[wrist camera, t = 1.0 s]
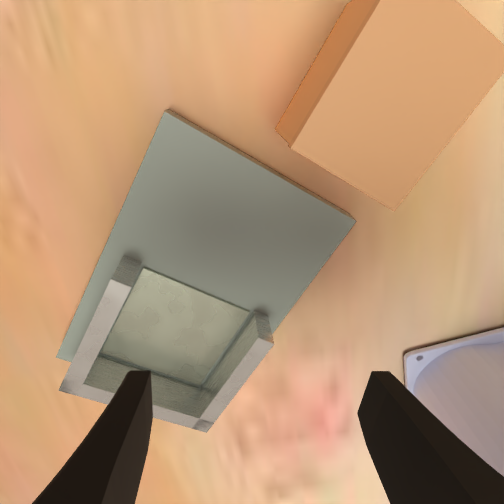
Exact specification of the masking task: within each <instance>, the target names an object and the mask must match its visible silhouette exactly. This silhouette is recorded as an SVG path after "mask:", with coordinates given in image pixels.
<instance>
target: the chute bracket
mask: <svg viewBox="0 0 504 504" xmlns="http://www.w3.org/2000/svg"><path fill="white" fill-rule="evenodd" d="M141 263H142V262H141V261H138V260H136V259H134V258H131V257H129V256H127V255H123V257H122V259H121V260H120V262H119V264H118V266H117V268H116V270H115V272H114V274H113V276H112V278H111V280H110V282H109V284H108V286H107V288H106V290H105V292H104V295H103V297H102V299H101V301H100V303H99V305H98V307H97V309H96V312H95V314H94V316H93V318H92V320H91V322H90V324H89V327H88V329H87V331H86V333H85V335H84V337H83V339H82V341H81V344H80V346H79V348H78V350H77V352H76V354H75V356H74V359H73V361H72V363H71V365H70V367H69V369H68V371H67V373H66V376H65V378H64V380H63V382H62V384H61V386H60V388H59V391H62V392H66V393H69V394H73V395H76V396H80V397H83V398H87V399H90V400H94V401H97V402H101V403H104V404H109V402H110V401H111V399H112V398H113V396H114V395H115V393H116V391H117V390H118V388H119V386H120V385H121V383H122V381H123V379H124V378H125V376H126V374H127V373H128V372H129V371H130V370H151V384H152V405H153V417H154V418H157V419H161V420H164V421H168V422H171V423H175V424H178V425H182V426H185V427H189V428H192V429H196V430H199V431H203V432H206V433H207V432H208V430H209V429H210V428H211V426H212V425H213V424H214V422H215V421H216V420H217V418H218V417H219V416H220V414H221V413H222V412H223V411H224V409H225V408H226V407H227V405H228V404H229V403H230V401H231V400H232V399H233V397H234V396H235V395H236V393H237V392H238V391H239V390H240V388H241V387H242V386H243V384H244V383H245V382H246V380H247V379H248V378H249V376H250V375H251V374H252V372H253V371H254V370H255V369H256V367H257V366H258V365H259V363H260V362H261V361H262V359H263V358H264V357H265V355H266V354H267V353H268V351H269V350H270V349H271V347H272V346H273V345H274V341H273V337H272V332H271V327H270V322H269V317H268V315H266V314H264V313H261V312H259V311H256V310H253V311H252V313H251V314H250V316H249V317H248V319H247V320H246V322H245V323H244V324H243V326H242V327H241V329H240V330H239V332H238V333H237V334H236V336H235V337H234V339H233V340H232V342H231V343H230V345H229V346H228V347H227V349H226V350H225V352H224V353H223V355H222V356H221V358H220V359H219V360H218V362H217V363H216V365H215V366H214V368H213V369H212V370H211V372H210V373H209V375H208V376H207V378H206V379H205V381H204V382H203V383H202V385H200V384H201V382H202V381H203V379H204V378H205V376H206V375H207V374H208V372H209V371H210V369H211V368H212V366H213V365H214V363H215V362H216V361H217V359H218V358H219V356H220V355H221V353H222V352H223V350H224V349H225V348H226V346H227V345H228V343H229V342H230V340H231V339H232V337H233V336H234V335H235V333H236V332H237V330H238V329H239V327H240V326H241V324H242V323H243V322H244V320H245V319H246V317H247V316H248V314H249V313H250V312H249V310H247V309H244V308H242V307H239V306H237V305H235V304H232V303H230V302H228V301H225V300H223V299H220V298H218V297H216V296H213V295H211V294H209V293H206V292H204V291H201V290H199V289H197V288H194V287H192V286H190V285H187V284H185V283H182V282H180V281H178V280H175V279H173V278H170V277H168V276H166V275H163V274H161V273H159V272H156V271H154V270H151V269H149V268H147V267H143V269H142V271H141V273H140V275H139V277H138V279H137V281H136V283H135V285H134V287H133V289H132V291H131V293H130V295H129V297H128V299H127V301H126V303H125V305H124V307H123V309H122V311H121V313H120V315H119V317H118V319H117V321H116V323H115V325H114V327H113V329H112V331H111V332H110V334H109V336H108V338H107V340H106V342H105V344H104V346H103V348H102V350H101V352H99V351H100V349H101V347H102V345H103V343H104V341H105V339H106V337H107V335H108V333H109V331H110V329H111V327H112V325H113V323H114V321H115V319H116V317H117V315H118V313H119V311H120V309H121V307H122V305H123V303H124V302H125V300H126V298H127V296H128V294H129V292H130V290H131V288H132V285H133V283H134V280H135V278H136V275H137V273H138V270H139V268H140V265H141Z"/></svg>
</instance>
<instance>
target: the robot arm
mask: <svg viewBox="0 0 504 504" xmlns="http://www.w3.org/2000/svg"><path fill="white" fill-rule="evenodd" d="M404 372H405V386H404V385H403V384H402V383H401V382H400V381H399V380H398V379H397V378H396V377H395V376H394V375H392V374H391V373H390V372H389V371H372V372H371V375H370V378H369V381H368V384H367V387H366V390H365V392H364V395H363V398H362V401H361V404H360V407H359V410H358V417H359V421H360V425H361V428H362V432H363V435H364V439H365V442H366V445H367V448H368V450H369V453H370V455H371V458H372V460H373V463H374V465H375V468H376V470H377V473H378V475H379V477H380V480H381V482H382V485H383V487H384V489H385V492H386V494H387V497H388V499H389V502H390V504H504V327H503V328H499V329H495V330H491V331H487V332H483V333H479V334H476V335H472V336H468V337H464V338H460V339H456V340H452V341H448V342H444V343H441V344H437V345H433V346H429V347H425V348H421V349H417V350H413V351H410V352H407V353H406V354H405V355H404ZM152 419H153V405H152V384H151V370H130V371H129V372H128V373H127V374H126V376H125V378H124V379H123V381H122V383H121V385H120V386H119V388H118V390H117V391H116V393H115V395H114V396H113V398H112V399H111V401H110V402H109V404H108V405H107V407H106V409H105V410H104V412H103V413H102V414H101V416H100V417H99V419H98V420H97V422H96V423H95V425H94V426H93V427H92V429H91V430H90V432H89V433H88V435H87V436H86V437H85V439H84V440H83V441H82V443H81V444H80V445H79V447H78V448H77V449H76V450H75V452H74V453H73V454H72V456H71V457H70V458H69V460H68V461H67V462H66V463H65V465H64V466H63V467H62V469H61V470H60V471H59V472H58V474H57V475H56V476H55V477H54V478H53V480H52V481H51V482H50V483H49V484H48V486H47V487H46V488H45V489H44V490H43V491H42V493H41V494H40V495H39V496H38V497H37V498H36V500H35V501H34V502H33V503H32V504H135V500H136V496H137V492H138V488H139V484H140V480H141V476H142V472H143V468H144V464H145V460H146V456H147V451H148V446H149V439H150V432H151V426H152Z"/></svg>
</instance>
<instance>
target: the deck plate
mask: <svg viewBox="0 0 504 504" xmlns="http://www.w3.org/2000/svg"><path fill="white" fill-rule="evenodd" d="M355 223H356V220H355V219H354V218H353V217H352V216H351V215H350V214H349V213H347V212H346V211H344V210H342V209H341V208H339V207H337V206H335V205H334V204H332V203H330V202H328V201H327V200H325V199H323V198H321V197H320V196H318V195H316V194H315V193H313V192H311V191H309V190H308V189H306V188H304V187H302V186H301V185H299V184H297V183H295V182H294V181H292V180H290V179H289V178H287V177H285V176H283V175H282V174H280V173H278V172H276V171H275V170H273V169H271V168H269V167H268V166H266V165H264V164H263V163H261V162H259V161H257V160H256V159H254V158H252V157H250V156H249V155H247V154H245V153H243V152H242V151H240V150H238V149H237V148H235V147H233V146H231V145H230V144H228V143H226V142H224V141H223V140H221V139H219V138H217V137H216V136H214V135H212V134H211V133H209V132H207V131H205V130H204V129H202V128H200V127H198V126H197V125H195V124H193V123H191V122H190V121H188V120H186V119H185V118H183V117H181V116H179V115H178V114H176V113H174V112H172V111H171V110H169V109H167V110H166V111H165V112H164V114H163V116H162V118H161V121H160V123H159V125H158V127H157V130H156V132H155V134H154V136H153V139H152V141H151V143H150V146H149V148H148V150H147V152H146V155H145V157H144V159H143V161H142V164H141V166H140V168H139V170H138V173H137V175H136V177H135V180H134V182H133V184H132V186H131V189H130V191H129V193H128V195H127V198H126V200H125V202H124V204H123V207H122V209H121V211H120V213H119V216H118V218H117V220H116V223H115V225H114V227H113V229H112V232H111V234H110V236H109V238H108V241H107V243H106V245H105V247H104V250H103V252H102V254H101V257H100V259H99V261H98V263H97V266H96V268H95V270H94V272H93V275H92V277H91V279H90V281H89V284H88V286H87V288H86V290H85V293H84V295H83V297H82V300H81V302H80V304H79V306H78V309H77V311H76V313H75V315H74V318H73V320H72V322H71V324H70V327H69V329H68V331H67V334H66V336H65V338H64V340H63V343H62V345H61V347H60V349H59V352H58V354H57V356H56V358H59V359H63V360H66V361H69V362H72V361H73V359H74V356H75V354H76V352H77V350H78V348H79V346H80V344H81V341H82V339H83V337H84V335H85V333H86V331H87V329H88V327H89V324H90V322H91V320H92V318H93V316H94V314H95V312H96V309H97V307H98V305H99V303H100V301H101V299H102V297H103V295H104V292H105V290H106V288H107V286H108V284H109V282H110V280H111V278H112V276H113V274H114V272H115V270H116V268H117V266H118V264H119V262H120V260H121V259H122V257H123V255H127V256H129V257H131V258H134V259H136V260H138V261H141V262H142V263H141V265H140V268H139V270H138V273H137V275H136V278H135V280H134V283H133V285H132V288H131V290H130V292H129V294H128V296H127V298H126V300H125V302H124V303H123V305H122V307H121V309H120V311H119V313H118V315H117V317H116V319H115V321H114V323H113V325H112V327H111V329H110V331H109V333H108V335H107V337H106V339H105V341H104V343H103V345H102V347H101V349H100V351H99V352H101V350H102V348H103V346H104V344H105V342H106V340H107V338H108V336H109V334H110V332H111V331H112V329H113V327H114V325H115V323H116V321H117V319H118V317H119V315H120V313H121V311H122V309H123V307H124V305H125V303H126V301H127V299H128V297H129V295H130V293H131V291H132V289H133V287H134V285H135V283H136V281H137V279H138V277H139V275H140V273H141V271H142V269H143V267H147V268H149V269H151V270H154V271H156V272H159V273H161V274H163V275H166V276H168V277H170V278H173V279H175V280H178V281H180V282H182V283H185V284H187V285H190V286H192V287H194V288H197V289H199V290H201V291H204V292H206V293H209V294H211V295H213V296H216V297H218V298H220V299H223V300H225V301H228V302H230V303H232V304H235V305H237V306H239V307H242V308H244V309H247V310H249V312H250V313H249V314H248V316H247V317H246V319H245V320H244V322H243V323H242V324H241V326H240V327H239V329H238V330H237V332H236V333H235V335H234V336H233V337H232V339H231V340H230V342H229V343H228V345H227V346H226V348H225V349H224V350H223V352H222V353H221V355H220V356H219V358H218V359H217V361H216V362H215V363H214V365H213V366H212V368H211V369H210V371H209V372H208V374H207V375H206V376H205V378H204V379H203V381H202V382H201V384H200V385H202V383H203V382H204V381H205V379H206V378H207V376H208V375H209V373H210V372H211V370H212V369H213V368H214V366H215V365H216V363H217V362H218V360H219V359H220V358H221V356H222V355H223V353H224V352H225V350H226V349H227V347H228V346H229V345H230V343H231V342H232V340H233V339H234V337H235V336H236V334H237V333H238V332H239V330H240V329H241V327H242V326H243V324H244V323H245V322H246V320H247V319H248V317H249V316H250V314H251V313H252V311H253V310H256V311H259V312H261V313H264V314H266V315H268V317H269V322H270V327H271V332H272V334H273V332H274V331H275V330H276V328H277V327H278V326H279V324H280V323H281V322H282V320H283V319H284V318H285V316H286V315H287V314H288V312H289V311H290V310H291V308H292V307H293V306H294V304H295V303H296V302H297V300H298V299H299V298H300V296H301V295H302V294H303V292H304V291H305V290H306V288H307V287H308V286H309V284H310V283H311V282H312V280H313V279H314V278H315V276H316V275H317V273H318V272H319V271H320V269H321V268H322V267H323V265H324V264H325V263H326V261H327V260H328V259H329V257H330V256H331V255H332V253H333V252H334V251H335V249H336V248H337V247H338V245H339V244H340V243H341V241H342V240H343V239H344V237H345V236H346V235H347V233H348V232H349V231H350V229H351V228H352V227H353V225H354V224H355Z"/></svg>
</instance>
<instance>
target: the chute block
mask: <svg viewBox="0 0 504 504" xmlns="http://www.w3.org/2000/svg"><path fill="white" fill-rule="evenodd" d="M503 72H504V44H502V43H501V42H500V41H499V40H498V39H497V38H496V37H495V36H494V35H493V34H492V33H491V32H490V31H488V30H487V29H486V28H485V27H484V26H483V25H482V24H481V23H480V22H479V21H478V20H477V19H476V18H474V17H473V16H472V15H471V14H470V13H469V12H468V11H467V10H466V9H465V8H464V7H463V6H462V5H461V4H459V3H458V2H457V1H456V0H353V1H351V2H349V3H347V5H346V7H345V8H344V10H343V12H342V14H341V15H340V17H339V19H338V21H337V22H336V24H335V26H334V28H333V29H332V31H331V33H330V35H329V36H328V38H327V40H326V41H325V43H324V45H323V47H322V48H321V50H320V52H319V54H318V55H317V57H316V59H315V61H314V62H313V64H312V66H311V68H310V69H309V71H308V73H307V74H306V76H305V78H304V80H303V81H302V83H301V85H300V87H299V88H298V90H297V92H296V94H295V95H294V97H293V99H292V101H291V102H290V104H289V106H288V107H287V109H286V111H285V113H284V114H283V116H282V118H281V120H280V121H279V123H278V125H277V127H276V128H275V130H276V131H277V132H278V133H279V134H280V135H281V136H282V137H283V138H284V139H285V140H286V141H287V142H288V143H289V145H288V146H289V147H290V148H291V149H292V150H294V151H296V152H297V153H299V154H301V155H302V156H304V157H305V158H307V159H309V160H310V161H312V162H314V163H315V164H317V165H319V166H320V167H322V168H324V169H325V170H327V171H328V172H330V173H332V174H333V175H335V176H337V177H338V178H340V179H342V180H343V181H345V182H346V183H348V184H350V185H351V186H353V187H355V188H356V189H358V190H360V191H361V192H363V193H365V194H366V195H368V196H369V197H371V198H373V199H374V200H376V201H378V202H379V203H381V204H383V205H384V206H386V207H387V208H389V209H391V210H392V211H395V210H396V209H397V207H398V206H399V205H400V204H401V202H402V201H403V200H404V199H405V197H406V196H407V195H408V193H409V192H410V191H411V190H412V188H413V187H414V186H415V185H416V183H417V182H418V181H419V179H420V178H421V177H422V176H423V174H424V173H425V172H426V171H427V169H428V168H429V167H430V165H431V164H432V163H433V162H434V160H435V159H436V158H437V157H438V155H439V154H440V153H441V151H442V150H443V149H444V148H445V146H446V145H447V144H448V143H449V141H450V140H451V139H452V137H453V136H454V135H455V134H456V132H457V131H458V130H459V128H460V127H461V126H462V125H463V123H464V122H465V121H466V120H467V118H468V117H469V116H470V114H471V113H472V112H473V111H474V109H475V108H476V107H477V106H478V104H479V103H480V102H481V100H482V99H483V98H484V97H485V95H486V94H487V93H488V92H489V90H490V89H491V88H492V86H493V85H494V84H495V83H496V81H497V80H498V79H499V78H500V76H501V75H502V74H503Z"/></svg>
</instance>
